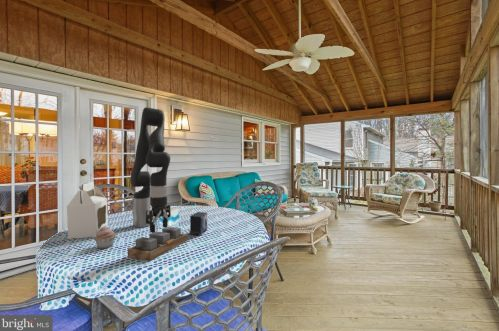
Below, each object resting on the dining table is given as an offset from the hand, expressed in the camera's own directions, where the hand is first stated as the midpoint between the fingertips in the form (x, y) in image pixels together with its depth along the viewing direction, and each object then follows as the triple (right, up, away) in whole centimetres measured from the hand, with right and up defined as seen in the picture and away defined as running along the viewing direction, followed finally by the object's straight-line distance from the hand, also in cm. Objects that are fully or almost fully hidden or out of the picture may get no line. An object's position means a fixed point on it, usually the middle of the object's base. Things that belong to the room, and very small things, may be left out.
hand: (159, 229), depth 123 cm
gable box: (-48, -8, +26) cm, 55 cm away
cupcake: (-26, -9, +3) cm, 28 cm away
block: (0, -8, 0) cm, 8 cm away
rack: (0, -9, 0) cm, 9 cm away
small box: (+14, -8, +25) cm, 30 cm away
